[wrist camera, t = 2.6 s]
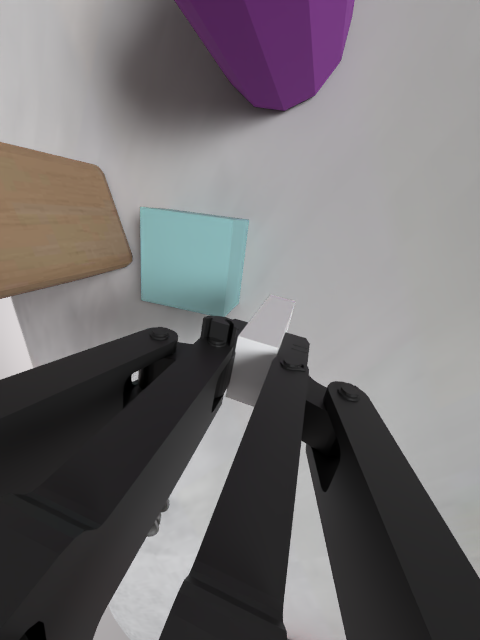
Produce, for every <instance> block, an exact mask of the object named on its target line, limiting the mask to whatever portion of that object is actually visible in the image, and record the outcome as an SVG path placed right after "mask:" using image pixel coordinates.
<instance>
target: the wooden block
mask: <svg viewBox="0 0 480 640" xmlns="http://www.w3.org/2000/svg"><path fill="white" fill-rule="evenodd" d="M131 262H132V253H131V250H130V247H129V245H128V242H127V239H126V236H125V233H124V230H123V227H122V224H121V222H120V219H119V216H118V213H117V210H116V207H115V204H114V201H113V199H112V196H111V193H110V190H109V187H108V184H107V181H106V178H105V176H104V173H103V172H102V171H101V169H100V168H99V167H98V166H96V165H93V164H89V163H85V162H81V161H77V160H72V159H68V158H64V157H60V156H56V155H52V154H48V153H44V152H39V151H35V150H31V149H27V148H23V147H19V146H15V145H11V144H7V143H2V142H0V299H2V298H6V297H10V296H14V295H18V294H22V293H26V292H31V291H35V290H39V289H43V288H47V287H51V286H55V285H59V284H64V283H68V282H72V281H76V280H79V279H83V278H87V277H90V276H94V275H98V274H102V273H105V272H109V271H113V270H116V269H120V268H124V267H126V266H127V265H128V264H129V263H131Z"/></svg>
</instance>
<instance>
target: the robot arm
mask: <svg viewBox="0 0 480 640" xmlns="http://www.w3.org/2000/svg"><path fill="white" fill-rule="evenodd" d="M295 302H296V301H293V300H289V299H286V298H282V297H278V296H274V295H269V297H268V298H267V299H266V301H265V302H264V303H263V304H262V306H261V307H260V308H259V310H258V311H257V312H256V314H255V315H254V316H253V317H252V319H251V320H250V321H249V323H248V322H244V321H241V320H237V319H233V320H232V319H229V318H226V317H222V316H207V317H204V318H203V324H202V331H201V337H200V339H198V340H197V341H196V342H195V343H194V344H186V343H179V342H178V335H177V333H176V332H174V331H173V330H170V329H168V328H163V327H158V328H149V329H145V330H143V331H140V332H137V333H134V334H131V335H128V336H125V337H122V338H120V339H117V340H114V341H111V342H108V343H105V344H102V345H99V346H96V347H94V348H91V349H88V350H85V351H82V352H79V353H76V354H73V355H71V356H68V357H65V358H62V359H59V360H56V361H53V362H50V363H48V364H45V365H42V366H39V367H36V368H33V369H30V370H27V371H24V372H22V373H19V374H16V375H13V376H10V377H8V378H5V379H2V380H0V640H93V637H94V634H95V631H96V628H97V626H98V624H99V621H100V619H101V617H102V615H103V613H104V611H105V609H106V607H107V605H108V604H109V602H110V600H111V599H112V597H113V595H114V593H115V591H116V590H117V588H118V586H119V584H120V583H121V581H122V579H123V577H124V576H125V574H126V572H127V570H128V568H129V567H130V565H131V563H132V561H133V560H134V558H135V556H136V554H137V553H138V551H139V549H140V547H141V546H142V544H143V542H144V540H145V538H146V537H147V535H148V533H149V531H150V530H151V528H152V526H153V524H154V523H155V521H156V519H157V517H158V516H159V514H160V512H161V510H162V508H163V507H164V505H165V503H166V501H167V500H168V498H169V496H170V494H171V493H172V491H173V489H174V487H175V485H176V484H177V482H178V480H179V478H180V477H181V475H182V473H183V471H184V470H185V468H186V466H187V464H188V463H189V461H190V459H191V457H192V455H193V454H194V452H195V450H196V448H197V447H198V445H199V443H200V441H201V440H202V438H203V436H204V434H205V433H206V431H207V429H208V427H209V425H210V424H211V422H212V420H213V418H214V417H215V415H216V413H217V411H218V410H219V408H220V406H221V404H222V400H223V395H224V392H225V390H226V389H227V393H226V397H228V398H231V399H234V400H237V401H239V402H242V403H245V404H248V405H251V406H254V410H253V412H252V415H251V417H250V420H249V422H248V425H247V428H246V430H245V433H244V435H243V438H242V441H241V443H240V446H239V448H238V451H237V453H236V456H235V459H234V461H233V464H232V466H231V469H230V471H229V474H228V477H227V479H226V482H225V484H224V487H223V490H222V492H221V495H220V497H219V500H218V502H217V505H216V508H215V510H214V513H213V515H212V518H211V521H210V523H209V526H208V528H207V531H206V533H205V536H204V539H203V541H202V544H201V546H200V549H199V552H198V554H197V557H196V559H195V562H194V564H193V567H192V569H191V571H190V573H189V575H188V576H187V577H186V579H185V580H184V582H183V584H182V586H181V588H180V590H179V592H178V594H177V597H176V599H175V601H174V604H173V606H172V608H171V611H170V613H169V616H168V618H167V621H166V623H165V626H164V628H163V631H162V633H161V636H160V638H159V640H287V631H286V629H285V626H284V624H283V603H284V594H285V584H286V575H287V566H288V557H289V548H290V539H291V530H292V521H293V512H294V503H295V493H296V484H297V475H298V466H299V457H300V448H301V440H302V441H303V442H305V443H306V454H307V458H308V463H309V468H310V472H311V477H312V482H313V486H314V491H315V495H316V500H317V505H318V509H319V514H320V519H321V523H322V528H323V533H324V537H325V542H326V547H327V551H328V556H329V560H330V565H331V570H332V574H333V579H334V584H335V588H336V593H337V598H338V602H339V607H340V611H341V616H342V621H343V625H344V630H345V635H346V639H347V640H480V579H479V577H478V575H477V574H476V572H475V570H474V569H473V567H472V565H471V564H470V562H469V561H468V559H467V557H466V556H465V554H464V552H463V551H462V549H461V548H460V546H459V544H458V543H457V541H456V539H455V538H454V536H453V534H452V533H451V531H450V530H449V528H448V526H447V525H446V523H445V521H444V520H443V518H442V516H441V515H440V513H439V512H438V510H437V508H436V507H435V505H434V503H433V502H432V500H431V499H430V497H429V495H428V494H427V492H426V490H425V489H424V487H423V485H422V484H421V482H420V481H419V479H418V477H417V476H416V474H415V472H414V471H413V469H412V468H411V466H410V464H409V463H408V461H407V459H406V458H405V456H404V454H403V453H402V451H401V450H400V448H399V446H398V445H397V443H396V441H395V440H394V438H393V436H392V435H391V433H390V432H389V430H388V428H387V427H386V425H385V423H384V422H383V420H382V419H381V417H380V415H379V414H378V412H377V410H376V409H375V407H374V405H373V404H372V402H371V401H370V399H369V397H368V396H367V395H366V394H365V393H364V392H363V391H362V390H360V389H359V388H358V387H356V386H353V385H352V384H350V383H345V382H338V381H335V382H331V383H330V384H329V385H328V387H327V388H326V387H324V386H322V385H321V384H319V383H317V382H316V381H314V380H313V379H312V378H311V377H310V376H309V369H308V367H307V362H308V353H309V345H310V344H309V342H308V341H307V339H306V338H303V337H300V336H296V335H293V334H289V333H287V330H288V327H289V323H290V320H291V316H292V312H293V309H294V305H295ZM138 370H139V376H138V380H136V381H134V382H132V381H131V375H132V374H133V373H134V372H136V371H138ZM227 387H228V388H227Z"/></svg>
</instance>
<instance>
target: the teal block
mask: <svg viewBox="0 0 480 640" xmlns="http://www.w3.org/2000/svg"><path fill="white" fill-rule="evenodd" d="M248 224H249V220H246V219H239V218H231V217H224V216H216V215H209V214H202V213H194V212H187V211H179V210H172V209H160V208H147V207H140V236H141V300H143V301H147V302H152V303H156V304H161V305H165V306H170V307H175V308H179V309H184V310H188V311H193V312H198V313H202V314H207V315H211V316H222V317H225V316H226V315H227V314H228V313H229V312H230V311H231V310H232V309H233V308H234V307H235V306H236V305H237V304H238V303H239V297H240V289H241V281H242V273H243V265H244V257H245V248H246V240H247V232H248Z"/></svg>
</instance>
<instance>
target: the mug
mask: <svg viewBox="0 0 480 640" xmlns="http://www.w3.org/2000/svg"><path fill="white" fill-rule="evenodd" d="M174 1H175V2H176V4H177V5H178V7H179V8H180V10H181V11H182V12H183V14H184V15H185V17H186V18H187V20H188V21H189V23H190V24H191V26H192V27H193V29H194V30H195V32H196V33H197V35H198V36H199V37H200V39H201V40H202V42H203V43H204V45H205V46H206V48H207V49H208V51H209V52H210V54H211V55H212V57H213V58H214V60H215V61H216V63H217V64H218V65H219V67H220V68H221V70H222V71H223V73H224V74H225V76H226V77H227V79H228V80H229V81H230V83H231V84H232V85H233V86H234V87H235V88H236V89H237V90H238V91H239V92H240V93H241V94H242V95H243V96H244V97H245V98H246V99H247V100H248V101H249V102H250V103H251V104H252V105H253V106H254V107H260V108H268V109H275V110H283V111H285V110H287V109H289V108H291V107H293V106H295V105H297V104H299V103H301V102H303V101H305V100H307V99H309V98H311V97H313V96H315V95H316V93H317V92H318V91H319V89H320V88H321V87H322V85H323V84H324V83H325V81H326V80H327V79H328V77H329V76H330V75H331V73H332V72H333V71H334V69H335V68H336V67H337V65H338V64H339V63H340V61H341V58H342V54H343V50H344V46H345V42H346V38H347V35H348V31H349V27H350V23H351V19H352V14H353V7H354V0H174Z"/></svg>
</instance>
